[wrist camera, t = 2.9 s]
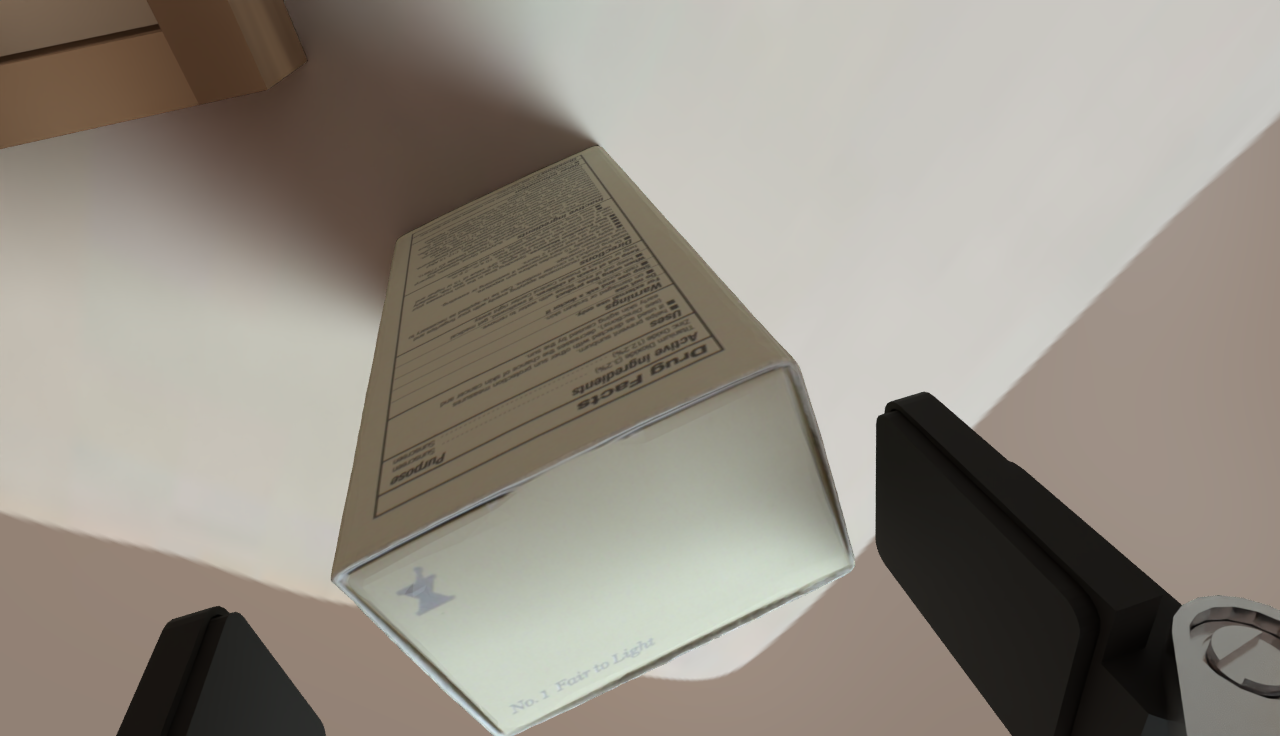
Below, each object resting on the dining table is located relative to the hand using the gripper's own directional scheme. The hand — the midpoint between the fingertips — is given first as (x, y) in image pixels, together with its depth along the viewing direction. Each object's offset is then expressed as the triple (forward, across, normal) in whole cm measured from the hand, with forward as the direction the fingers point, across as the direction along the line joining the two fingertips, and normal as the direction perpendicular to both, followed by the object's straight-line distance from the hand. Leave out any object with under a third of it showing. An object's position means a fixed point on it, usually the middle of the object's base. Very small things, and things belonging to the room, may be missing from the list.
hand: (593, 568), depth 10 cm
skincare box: (+12, 0, -1) cm, 12 cm away
